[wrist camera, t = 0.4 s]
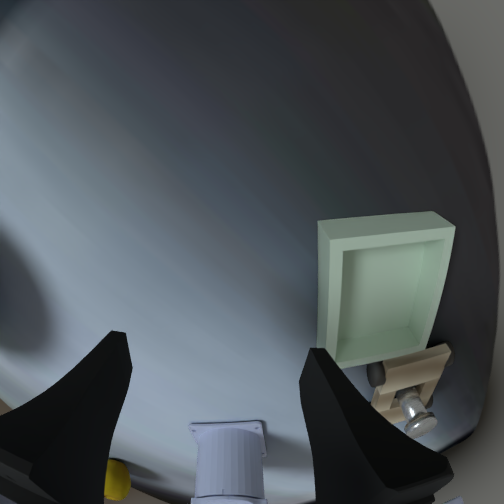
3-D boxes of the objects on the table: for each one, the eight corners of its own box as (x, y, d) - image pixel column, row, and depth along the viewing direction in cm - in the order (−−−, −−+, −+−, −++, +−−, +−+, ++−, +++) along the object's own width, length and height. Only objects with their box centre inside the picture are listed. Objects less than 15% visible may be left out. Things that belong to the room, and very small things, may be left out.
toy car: (417, 403, 30) (424, 418, 28) (352, 420, 31) (358, 438, 28) (447, 332, 25) (459, 349, 23) (369, 351, 25) (378, 372, 23)
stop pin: (408, 384, 28) (430, 432, 22) (383, 391, 28) (403, 442, 22) (415, 365, 27) (441, 416, 21) (389, 372, 27) (412, 426, 21)
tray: (411, 327, 24) (425, 349, 22) (316, 345, 24) (323, 371, 22) (432, 211, 19) (455, 226, 17) (317, 220, 19) (329, 239, 17)
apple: (102, 448, 34) (91, 491, 26) (140, 464, 36) (133, 507, 28) (92, 456, 36) (82, 495, 28) (126, 471, 38) (119, 510, 30)
